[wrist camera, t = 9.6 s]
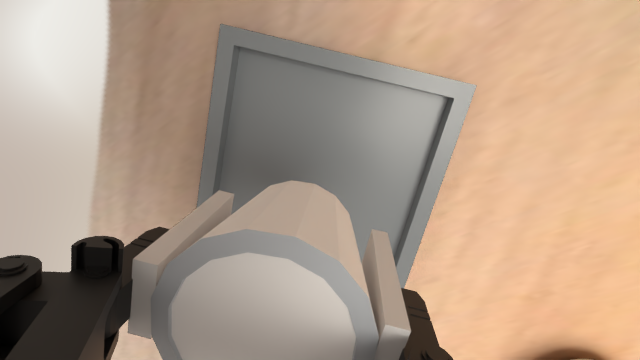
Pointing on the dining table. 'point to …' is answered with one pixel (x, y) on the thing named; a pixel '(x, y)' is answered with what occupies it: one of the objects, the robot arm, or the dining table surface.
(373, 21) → the dining table surface
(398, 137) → the tray
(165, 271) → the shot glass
